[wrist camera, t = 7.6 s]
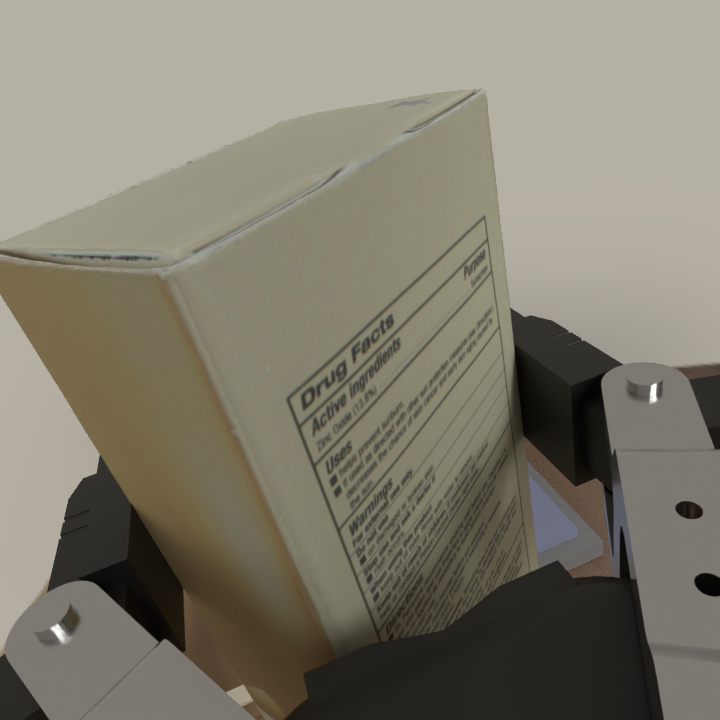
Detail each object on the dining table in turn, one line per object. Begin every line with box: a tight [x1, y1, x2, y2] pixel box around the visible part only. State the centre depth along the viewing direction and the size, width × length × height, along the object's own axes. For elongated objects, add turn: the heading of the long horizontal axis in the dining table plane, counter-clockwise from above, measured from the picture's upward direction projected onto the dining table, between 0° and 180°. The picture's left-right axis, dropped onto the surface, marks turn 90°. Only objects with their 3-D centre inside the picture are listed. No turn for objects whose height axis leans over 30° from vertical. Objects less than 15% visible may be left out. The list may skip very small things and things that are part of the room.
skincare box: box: [0, 89, 539, 720], centre depth 11 cm, size 6×4×12 cm
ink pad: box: [527, 461, 603, 571], centre depth 31 cm, size 10×10×2 cm
